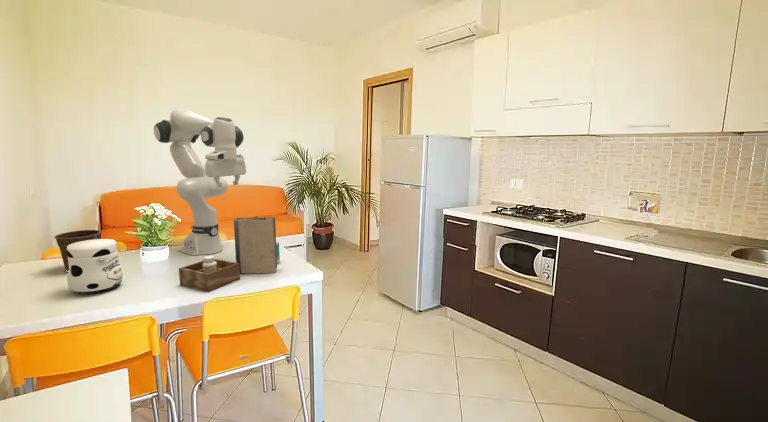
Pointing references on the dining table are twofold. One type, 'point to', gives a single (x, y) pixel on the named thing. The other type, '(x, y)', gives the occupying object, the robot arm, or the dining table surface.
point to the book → (255, 244)
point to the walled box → (209, 275)
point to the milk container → (93, 266)
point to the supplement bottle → (209, 264)
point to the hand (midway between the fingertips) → (227, 186)
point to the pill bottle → (277, 251)
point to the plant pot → (74, 241)
